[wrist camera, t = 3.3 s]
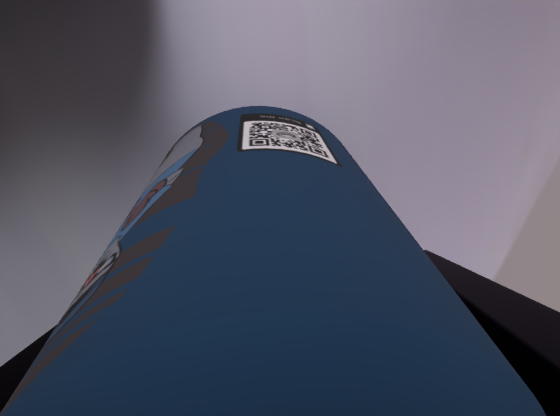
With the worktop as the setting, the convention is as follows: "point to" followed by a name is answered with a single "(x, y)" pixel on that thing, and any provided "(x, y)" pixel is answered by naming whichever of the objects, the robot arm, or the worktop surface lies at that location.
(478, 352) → the soda can
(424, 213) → the worktop surface
